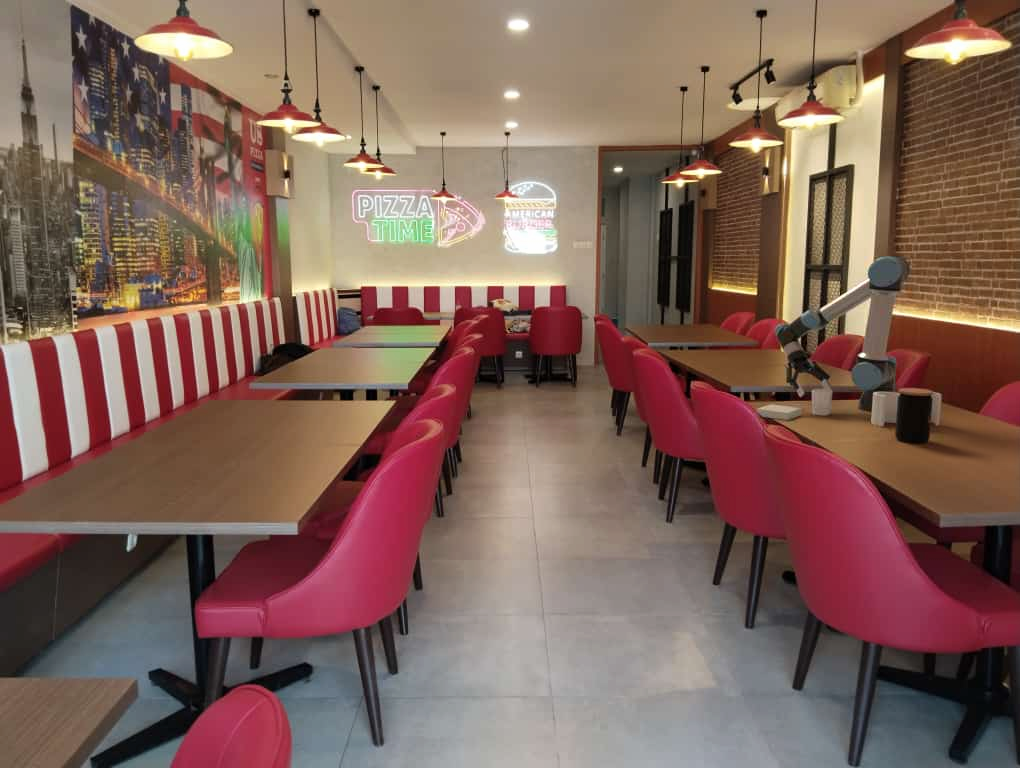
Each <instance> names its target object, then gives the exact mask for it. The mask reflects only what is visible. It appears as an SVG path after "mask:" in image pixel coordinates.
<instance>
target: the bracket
mask: <svg viewBox="0 0 1020 768" xmlns="http://www.w3.org/2000/svg"><path fill="white" fill-rule="evenodd" d="M899 395H900V393H899V392H895V391H894V392H874V393H873V402H872V411H871V416H870V417H871V420H870V423H872V425H873V424H874V426H877V425H878V427H880V426H884V427H885V423H890V422H891V423H892V424H895V423H896V418H897V404H898V396H899ZM931 397H932V411H931V422H933V423H932V424H934V423H935V424H934V425H935V426H940V417H941V406H942V394H941V393H940V392H934V391H933V394H932V395H931ZM891 423H890V424H891Z"/></svg>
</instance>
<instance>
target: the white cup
mask: <svg viewBox="0 0 1020 768" xmlns="http://www.w3.org/2000/svg"><path fill="white" fill-rule="evenodd" d="M832 399H833V390H832V389H831V390H828V389H824V388H813V389H812V390H811V413H812V414H813V415H815V416H829V415H830V414H831V407H832Z"/></svg>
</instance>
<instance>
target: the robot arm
mask: <svg viewBox="0 0 1020 768" xmlns="http://www.w3.org/2000/svg"><path fill="white" fill-rule="evenodd" d="M910 267H911V266H910V264H909V262H908V261H907V260H906V259H904V258H903V257H901V256H889V255H888V256H881V257H879V258H877V259H875V260H874V261H873V262H871V264H870V265H869V267H868V270H867V278H866V279H864V280H863V281H862V282H859V284H857V285H855V286H854V287H852V288H851V289H849V290H848V291H846V292H845V293H843V294H841V295H840V296H838V297H836V298H835V299H833V300H832V301H830V302H828V303H827V304H825V305H824V306H822V307H821V308H819V309H818V310H815V311H813V310H812V309H808V310H807V311H805V312H802V313H801V315H800V316H798V317H797V318H796V319H795V320H793V321H792V322H790V323H788V322H783V323H781V324H778V325H777V326H775V328H774V335H775V338H776V341H778V343H779V345H780V347H781V349H782V350H783V352H784V353H783V354H784V355H785V357H786V359H787V360H788V362H787V364H786V365H785V369H786V377H785V378H786V379H785V380H786V383H787V384H789V385H790V386H792V387H793V389H794V390H795V391H796V392H797V394H798V396H799V398H802V397H803V396H804V395H805V394H806V393H805V391H804V389H803V387H802V385H801V384H800V382H799V380H797V379H798V376H799V374H803V373H804V374H809V375H811V376H813V377H814V378H815V379H817V380H819V381H820V383H821V385H822V386H821V387H822V389H828V390H832V389H831V383H829V380H830V378H831V376H830V375H829V374H828V373H827V371H825V370H824V369H823V368H821V367H820V366H819V365H818V364H817V362H816V361H815V360H813V361H812V362H809V361H808V355H807V354H806V351H804V348H803V346H802V345H801V342H800V341H799V339H800V338H801V337H803V336H805V335H806V334H807V333H809V332H815V331H821V330H823V329H825V328H826V327H827V326H828V325H829V324H830V323H833V321H835V320H837V319H838V318H840V317H842V316H844V315H845V314H846V313H848V312H850V311H852V310H853V309H855V308H857V307H858V306H860V305H862V304H863V303H865V302H866V301H869V299H870V303H869V309H868V315H867V322H866V328H865V332H864V339H863V345H862V351H861V352H860V353H858V354H857V356H856V361H855V362H856V363H855V365H854V366H853V368H852V369H851V373H850V378H851V381H852V383H853V384H854V385H855V386H856V387H857V388H859V389H860V390H863V392H862V394H861V396H860V398H859V401H858V405H857V407H858V409H859V410H862V411H867V412H872V402H873V393H874V392H894V393H895V385H896V373H897V365H898V363H897V358H896V357H895V356H888V355H886V353H887V346H888V340H889V335H890V330H891V329H890V328H891V324H892V317H893V312H894V305H895V299H896V296H897V295H898V294H900V293H901V290H902V284H903V283H904V282H905V281H907V280H908V278H909V276H910V274H911V268H910ZM793 369H794V371H793Z"/></svg>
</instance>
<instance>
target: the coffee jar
mask: <svg viewBox="0 0 1020 768" xmlns="http://www.w3.org/2000/svg"><path fill="white" fill-rule="evenodd" d="M933 392H934V391H932V390H930V389H926V388H916V387H905V388H904V387H903V388H899V389H898V393H900V395H899V396H898V404H897V418H896V424H895V432H894V433H895V434H894V436H895V438H896V440H897V439H898V440H897V441H899V440H900V441H899V442H902V441H903V442H902V443H907V442H910V443H909V444H926V443H927V442H928V441H929V439H930V435H931V434H930V433H931V411H932V397H931V395H932V394H933ZM925 442H926V443H925Z"/></svg>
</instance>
